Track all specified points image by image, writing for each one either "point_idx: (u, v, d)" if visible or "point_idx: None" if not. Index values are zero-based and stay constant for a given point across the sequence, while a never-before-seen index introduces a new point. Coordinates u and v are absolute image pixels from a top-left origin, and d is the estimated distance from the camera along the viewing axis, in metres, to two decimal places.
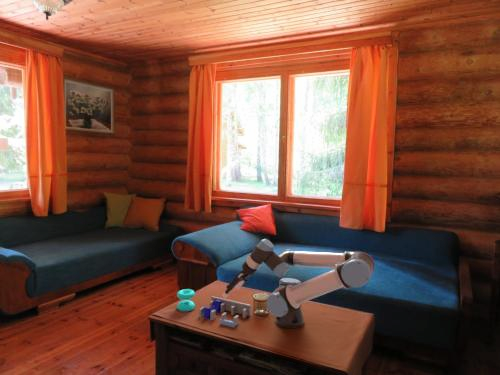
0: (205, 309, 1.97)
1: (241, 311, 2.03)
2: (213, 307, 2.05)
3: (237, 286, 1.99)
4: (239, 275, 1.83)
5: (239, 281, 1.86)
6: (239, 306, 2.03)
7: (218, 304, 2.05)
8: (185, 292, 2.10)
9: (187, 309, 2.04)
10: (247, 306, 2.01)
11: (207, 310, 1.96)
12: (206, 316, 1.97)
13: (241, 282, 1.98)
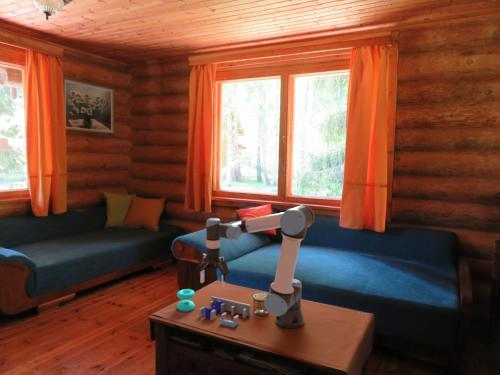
0: (206, 309, 1.97)
1: (241, 311, 2.03)
2: (214, 307, 2.05)
3: None
4: None
5: (204, 263, 2.01)
6: (239, 306, 2.03)
7: (219, 304, 2.05)
8: (185, 292, 2.10)
9: (187, 309, 2.04)
10: (247, 306, 2.01)
11: (208, 310, 1.96)
12: (207, 316, 1.97)
13: None
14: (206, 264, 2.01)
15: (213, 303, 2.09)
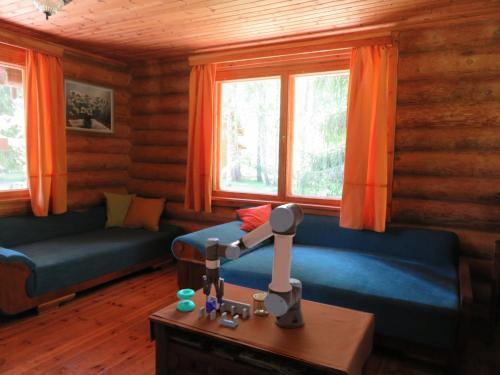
0: (207, 303, 1.96)
1: (241, 311, 2.03)
2: (214, 302, 2.04)
3: None
4: None
5: None
6: (239, 306, 2.03)
7: None
8: (185, 292, 2.10)
9: (187, 309, 2.04)
10: (247, 306, 2.01)
11: (209, 304, 1.95)
12: (208, 310, 1.96)
13: None
14: (210, 286, 2.01)
15: None
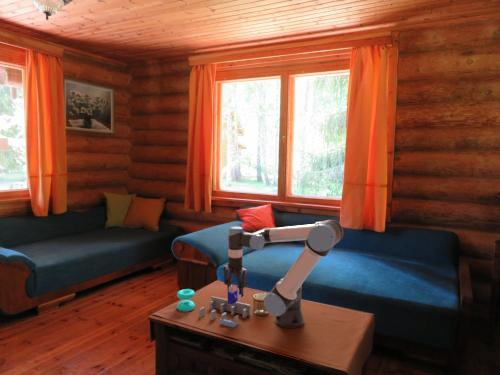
0: (229, 294, 1.89)
1: (241, 311, 2.03)
2: (235, 292, 1.98)
3: None
4: None
5: (229, 275, 1.94)
6: (239, 306, 2.03)
7: None
8: (185, 292, 2.10)
9: (187, 309, 2.04)
10: (247, 306, 2.01)
11: (231, 295, 1.88)
12: (230, 301, 1.89)
13: None
14: (231, 276, 1.94)
15: (213, 303, 2.09)
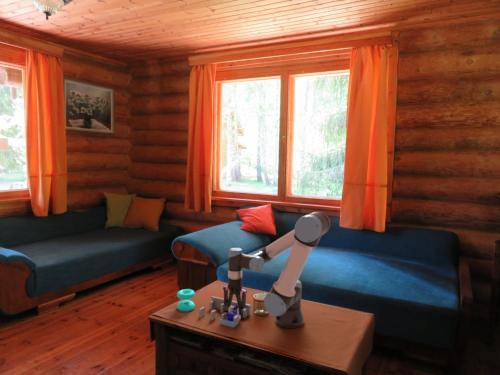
0: (228, 315, 1.90)
1: None
2: (235, 312, 1.99)
3: None
4: None
5: (229, 296, 1.95)
6: None
7: None
8: (185, 292, 2.10)
9: (187, 309, 2.04)
10: (247, 306, 2.01)
11: (231, 316, 1.90)
12: None
13: None
14: (231, 296, 1.96)
15: (213, 303, 2.09)
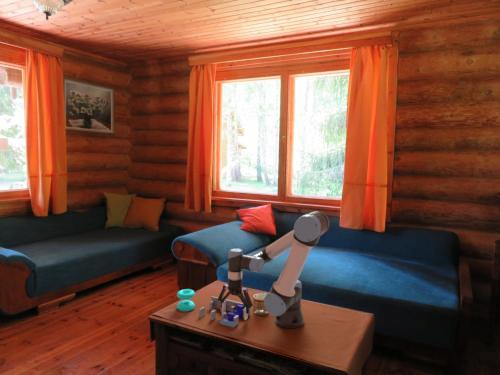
0: (229, 315, 1.90)
1: None
2: (235, 312, 1.99)
3: None
4: None
5: (226, 294, 1.96)
6: None
7: (240, 309, 1.99)
8: (185, 292, 2.10)
9: (187, 309, 2.04)
10: None
11: (231, 316, 1.90)
12: None
13: None
14: (228, 295, 1.96)
15: (213, 303, 2.09)
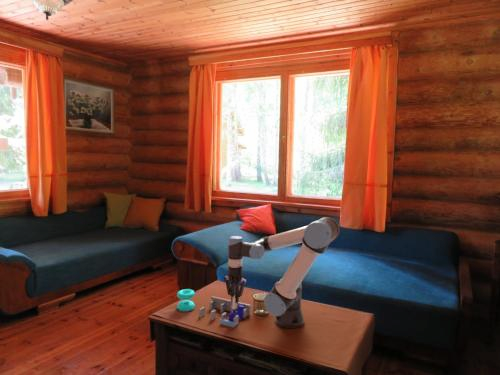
0: (230, 315, 1.90)
1: None
2: (236, 313, 1.99)
3: None
4: None
5: (231, 285, 1.94)
6: None
7: (241, 310, 1.98)
8: (185, 292, 2.10)
9: (187, 309, 2.04)
10: (247, 306, 2.01)
11: (232, 316, 1.89)
12: None
13: None
14: (233, 285, 1.94)
15: (213, 303, 2.09)
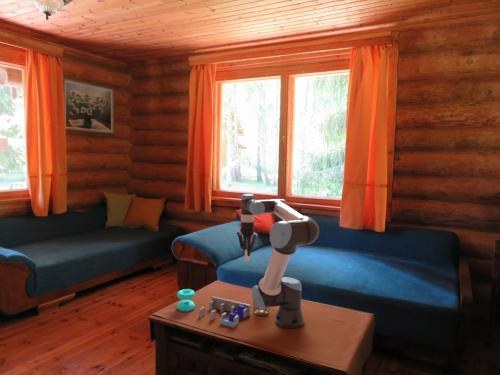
0: (230, 315, 1.90)
1: None
2: (236, 313, 1.99)
3: None
4: None
5: (243, 239, 2.11)
6: None
7: (241, 309, 1.99)
8: (185, 292, 2.10)
9: (187, 309, 2.04)
10: (247, 306, 2.01)
11: (232, 316, 1.89)
12: None
13: None
14: (245, 240, 2.11)
15: (213, 303, 2.09)
